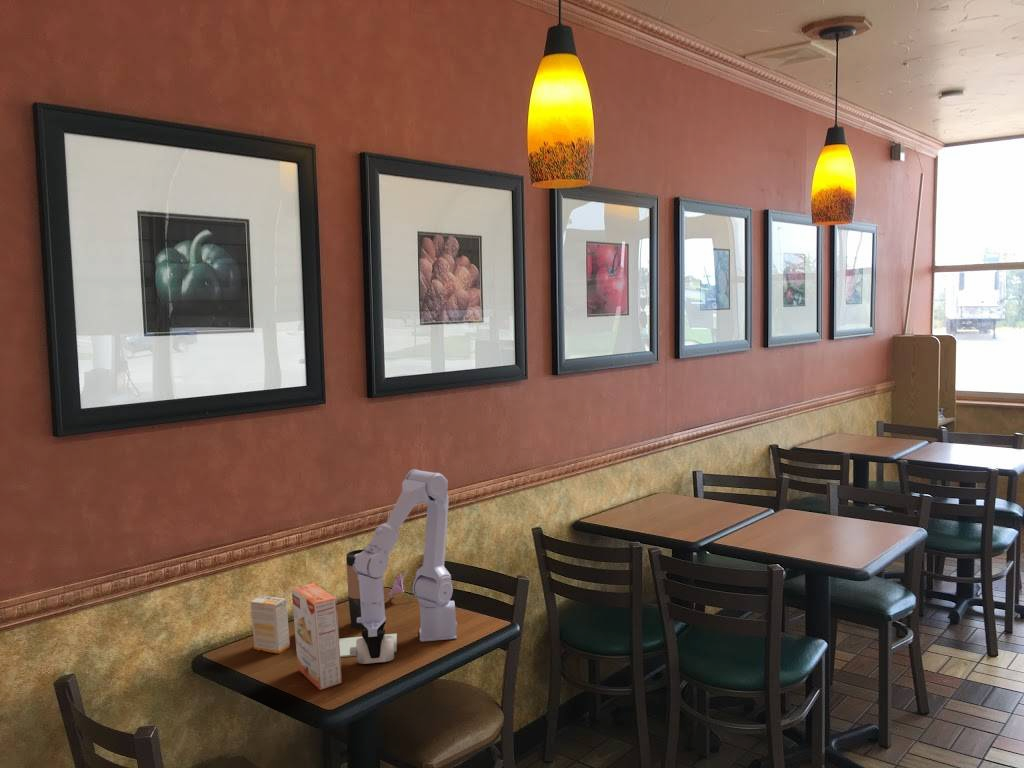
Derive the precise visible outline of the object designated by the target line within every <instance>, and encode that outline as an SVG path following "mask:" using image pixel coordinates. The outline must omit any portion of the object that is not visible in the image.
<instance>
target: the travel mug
mask: <svg viewBox="0 0 1024 768" xmlns="http://www.w3.org/2000/svg"><path fill="white" fill-rule="evenodd" d="M364 550H365V549H357V550H352V551H349V552H347V553H346V557H345V558H346V559H345V560H346V576H347V578H346V581H347V595H348V597H347V598H348V607H349V608H348V609H349V617H350V625H351V626H350V627H352V628H353V629H356V630H365V628H364V626H363V624H362V623H357V618H358V617H361V603H360V587H359V579H358V576H357V573H356V572H355V571H354V569H353V564H354V561H355V558H356V556H357V555H358V554H359V553H361V552H362V551H364Z"/></svg>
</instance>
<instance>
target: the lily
mask: <svg viewBox="0 0 1024 768" xmlns="http://www.w3.org/2000/svg"><path fill="white" fill-rule="evenodd" d="M409 571H410V569H407V571H406V572H405V573H404V575H402V572H400V573H399V575H398V576H397V578H396V580H395V581H394V582H392V586H393V588H391V590H390V591H389V592H388V594H387V595H386V596H384V601H386V599H387V598H388V597H390V598H391V599H392V598H393V597H394V595H395V594H399V593H404V595H405V596H406V597H407V599H408V600H409V602H410V603H413V601H412V600H411V599H410V596H409V595H408V594H407V593H406V591H404V579H405V576H406V575H407V574H408V572H409Z"/></svg>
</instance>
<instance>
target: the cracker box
mask: <svg viewBox="0 0 1024 768" xmlns="http://www.w3.org/2000/svg"><path fill="white" fill-rule="evenodd" d="M291 597H292V608H293V609H292V611H293V622H294V633H295V635H294V637H295V648H296V657H297V658H296V661H297V670H298V671H299V672H300V673H301V674H302V675H304V677H306V679H307V680H308V681H310V682H311V684H313V685H314V686H315V687H316V688H317V689H318V690H319V691H322V690H325V689H328V688H333V687H335V686H338V685H340V684H342V683H343V679H342V678H343V677H342V662H341V657H340V646H339V639H340V635H339V634H340V633H339V621H338V619H339V618H338V606H337V605H338V604H337V598H336V597H334V596H333V595H332V594H330V593H328V592H327V591H326V590H324V589H322V588H321V587H320V586H318V585H317V584H315V582H312V583H309V584H303V585H299V586H295V587H292V588H291Z"/></svg>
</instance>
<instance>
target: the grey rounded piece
mask: <svg viewBox="0 0 1024 768" xmlns="http://www.w3.org/2000/svg"><path fill="white" fill-rule="evenodd" d="M384 635H385V634H384ZM349 657H356V660H357V663H358V664H360V665H361V664H362V665H363V664H364V665H365V664H375V663H376V664H377V663H386V662H387V663H388V662H391V661H393V660H394V659H395V652H394V643H393V637H392V636H389V635H385V636H383V639H382V643H381V651H380V657H379V658H371V657H370V654H369V650H368V647H367V644H366V642H365V640H364V638H360V639H358V640H356V647H350V656H349Z"/></svg>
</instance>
